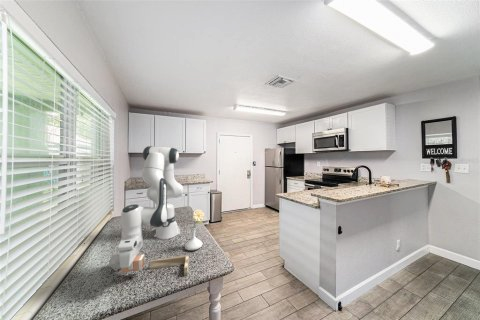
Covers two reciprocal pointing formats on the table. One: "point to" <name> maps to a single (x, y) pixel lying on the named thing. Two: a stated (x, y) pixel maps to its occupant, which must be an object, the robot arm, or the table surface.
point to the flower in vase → (194, 242)
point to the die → (115, 262)
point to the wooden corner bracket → (171, 262)
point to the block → (136, 264)
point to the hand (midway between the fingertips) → (133, 264)
